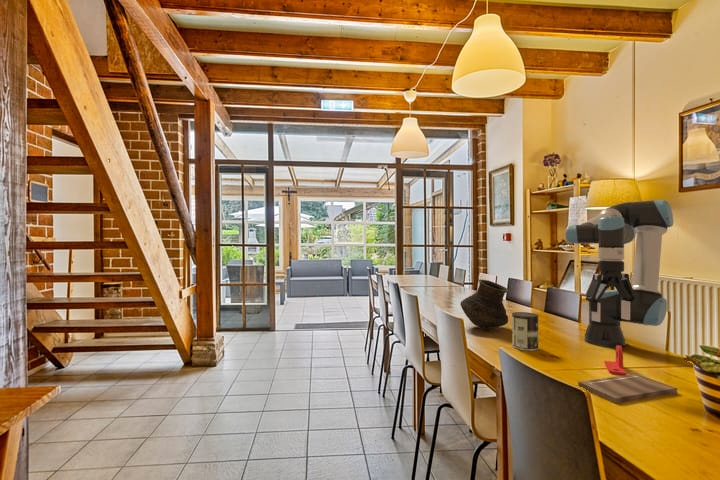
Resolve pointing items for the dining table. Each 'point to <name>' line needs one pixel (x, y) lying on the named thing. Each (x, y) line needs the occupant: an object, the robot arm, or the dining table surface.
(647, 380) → the walnut board
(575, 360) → the dining table surface
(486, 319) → the ceramic pot
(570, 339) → the dining table surface
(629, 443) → the dining table surface
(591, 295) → the robot arm
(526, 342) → the coffee can
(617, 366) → the bracket
